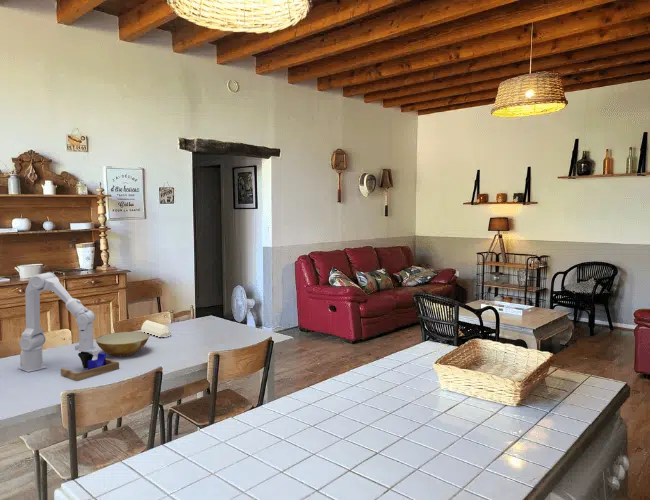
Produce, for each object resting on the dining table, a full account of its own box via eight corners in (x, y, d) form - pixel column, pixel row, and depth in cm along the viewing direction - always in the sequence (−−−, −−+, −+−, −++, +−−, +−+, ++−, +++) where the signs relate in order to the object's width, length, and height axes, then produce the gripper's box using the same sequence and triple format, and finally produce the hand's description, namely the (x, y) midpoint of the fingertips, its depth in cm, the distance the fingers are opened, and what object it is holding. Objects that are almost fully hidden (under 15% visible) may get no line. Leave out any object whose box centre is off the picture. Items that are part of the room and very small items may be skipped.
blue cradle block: (95, 365, 225) (95, 352, 224) (105, 366, 225) (105, 353, 224) (84, 374, 213) (84, 360, 212) (94, 374, 213) (94, 361, 212)
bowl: (160, 350, 252) (160, 335, 251) (121, 363, 229) (121, 347, 228) (124, 343, 262) (124, 329, 261) (84, 356, 239) (83, 340, 239)
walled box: (61, 375, 211) (60, 368, 211) (103, 363, 228) (103, 357, 227) (76, 381, 204) (76, 374, 204) (119, 368, 221) (119, 362, 221)
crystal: (176, 329, 279) (153, 323, 295) (166, 325, 274) (144, 319, 290) (170, 342, 277) (148, 334, 292) (160, 337, 272) (138, 330, 287)
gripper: (103, 339, 216) (104, 368, 217) (85, 334, 224) (85, 362, 225) (88, 342, 210) (89, 373, 211) (70, 337, 218) (70, 366, 219)
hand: (86, 368), depth 218 cm, fingers closed
